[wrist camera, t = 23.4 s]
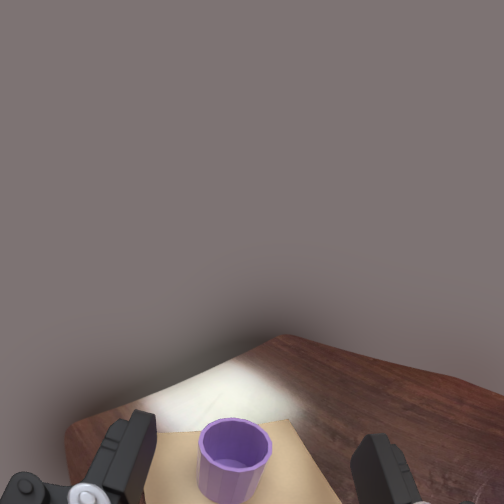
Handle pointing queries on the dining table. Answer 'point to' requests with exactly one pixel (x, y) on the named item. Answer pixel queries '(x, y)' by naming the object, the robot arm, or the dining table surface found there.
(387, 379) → the dining table surface
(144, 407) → the dining table surface
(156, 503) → the mat
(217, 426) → the lavender cup
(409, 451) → the dining table surface
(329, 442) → the dining table surface
